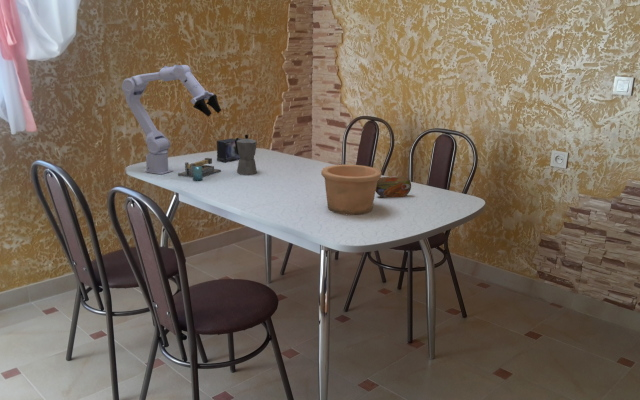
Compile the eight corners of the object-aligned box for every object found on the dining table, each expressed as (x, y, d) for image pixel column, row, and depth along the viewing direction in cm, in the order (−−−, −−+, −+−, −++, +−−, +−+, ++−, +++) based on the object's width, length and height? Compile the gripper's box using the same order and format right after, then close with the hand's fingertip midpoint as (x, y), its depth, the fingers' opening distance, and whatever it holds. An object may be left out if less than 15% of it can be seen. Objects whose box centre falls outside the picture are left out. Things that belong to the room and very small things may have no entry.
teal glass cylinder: (191, 180, 237) (190, 167, 235) (197, 178, 241) (196, 165, 239) (199, 181, 235) (198, 168, 234) (204, 179, 239) (204, 166, 237)
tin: (376, 198, 217) (377, 177, 215) (373, 196, 220) (374, 176, 218) (410, 196, 221) (412, 176, 219) (407, 194, 224) (409, 174, 222)
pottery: (343, 197, 218) (345, 161, 214) (390, 208, 204) (393, 170, 200) (308, 208, 202) (309, 170, 198) (356, 221, 188) (358, 181, 184)
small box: (225, 162, 274) (224, 142, 271) (216, 161, 277) (215, 140, 275) (240, 159, 282) (240, 139, 279) (231, 158, 286) (231, 138, 283)
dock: (178, 175, 246) (177, 161, 244) (199, 168, 260) (199, 155, 258) (200, 178, 241) (199, 164, 239) (220, 171, 255) (220, 158, 253)
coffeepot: (263, 174, 252) (263, 135, 247) (247, 177, 246) (246, 137, 241) (243, 168, 263) (243, 131, 258) (227, 170, 256) (226, 132, 252)
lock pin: (186, 169, 243) (186, 163, 242) (207, 162, 257) (206, 157, 256) (191, 169, 242) (191, 164, 241) (212, 163, 256) (211, 158, 255)
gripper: (190, 85, 227) (210, 110, 227) (210, 80, 239) (229, 104, 239) (181, 95, 230) (201, 121, 230) (200, 90, 243) (219, 114, 243)
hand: (214, 113), depth 235 cm, fingers open, 7 cm apart
